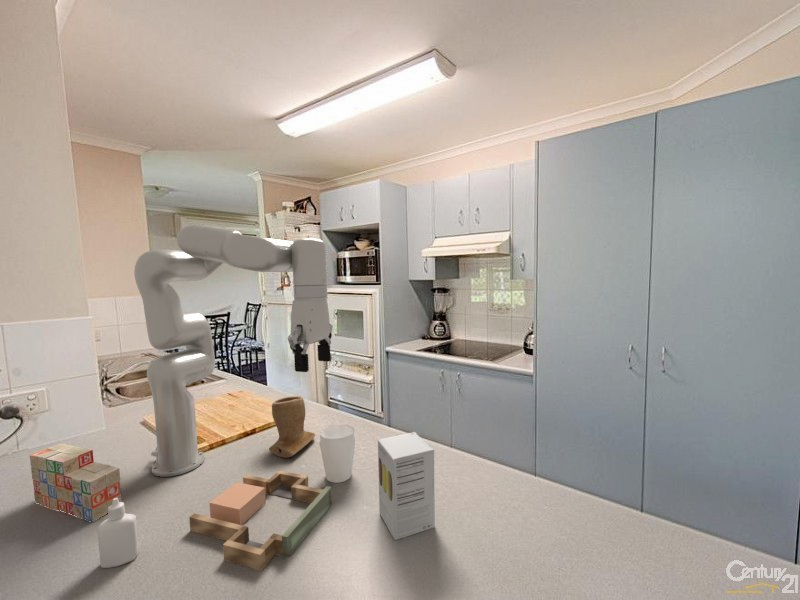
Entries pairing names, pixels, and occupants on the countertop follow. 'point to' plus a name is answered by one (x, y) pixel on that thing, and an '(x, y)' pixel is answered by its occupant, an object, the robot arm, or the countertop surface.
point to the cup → (337, 451)
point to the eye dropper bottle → (118, 537)
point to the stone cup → (290, 426)
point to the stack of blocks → (74, 481)
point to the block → (237, 503)
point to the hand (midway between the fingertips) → (313, 365)
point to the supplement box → (406, 484)
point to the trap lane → (260, 554)
